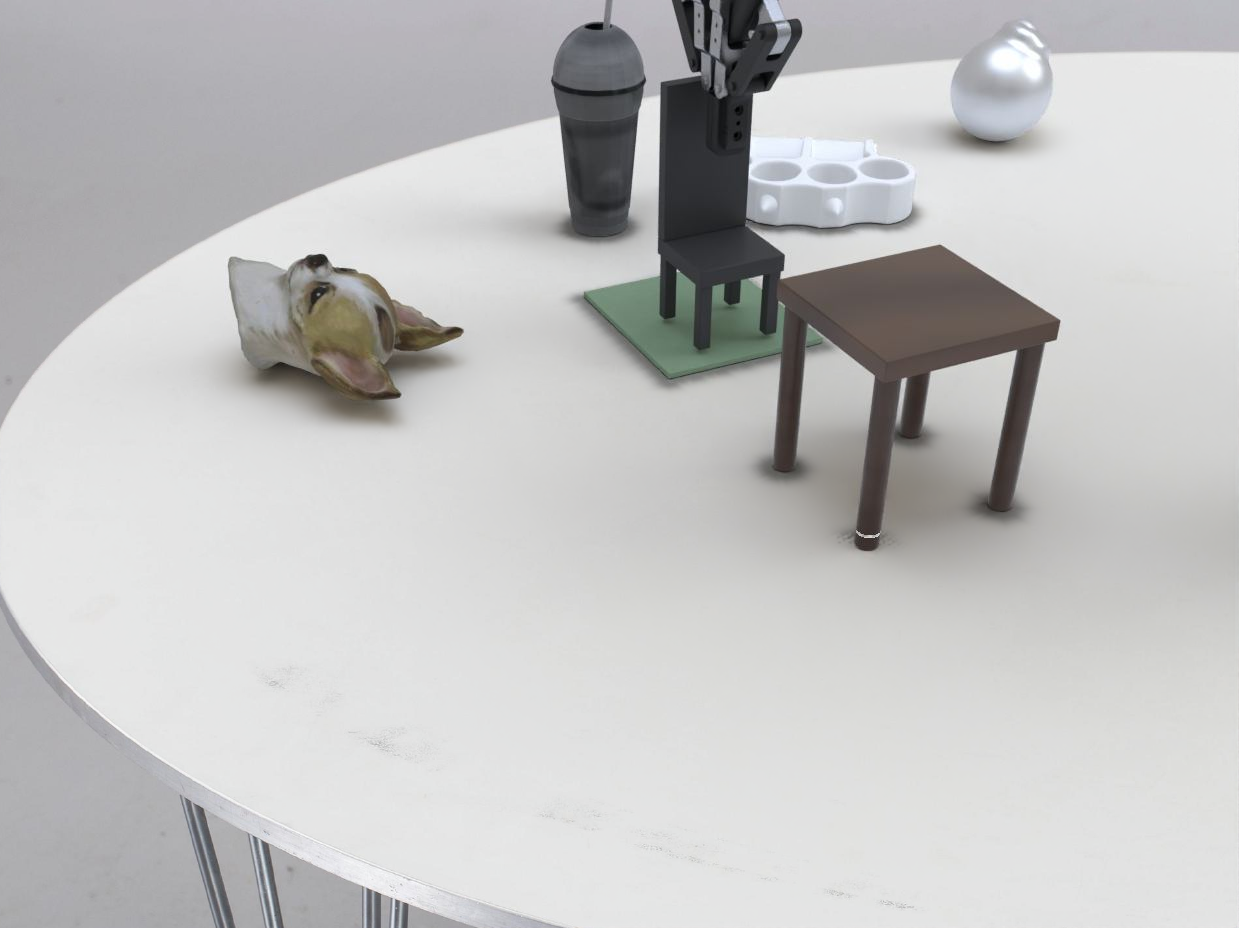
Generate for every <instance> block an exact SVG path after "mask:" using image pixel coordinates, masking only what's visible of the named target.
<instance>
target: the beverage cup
mask: <svg viewBox="0 0 1239 928" xmlns="http://www.w3.org/2000/svg"><path fill="white" fill-rule="evenodd" d="M613 1H614V0H605V3H604V5H605V6H604V14H603V21H592V22H588V23H584V24H582V25H580V26H578V27H576V28H574V29H573V30H572V31H571V32H570V33H569V34H568V35H567V36H566V37H565V39H564V40H563V41H562V43H561V44H560V46H559V48H558V49H557V51H556V52H557V53H556V55H555V58H554V62H553V67H552V76H551V79H550V83H551V85H552V87H553V94H554V99H555V104H556V107H557V112H558V115H559V125H560V135H561V144H562V152H563V163H564V171H565V172H564V173H565V181H566V189H567V200H568V207H569V211H570V217H571V227H572V230H574V231H575V232H577V233H578V234H581V235H584V236H589V237H609V236H614V235H617V234H620V233H623V232H624V231H625V230H626V229H627V227H628V218H629V212H630V208H631V201H632V200H631V198H632V187H633V179H634V177H633V176H634V168H635V167H634V166H635V157H636V155H635V154H636V145H637V135H638V125H639V124H638V123H639V112H640V109H641V107H642V101H643V96H644V91H645V84H647V83H646V82H647V77H646V74H645V66H644V62H643V61H644V60H643V58H642V55H641V52H640V49H639V48H638V46H637V45H636V43H635V41H634V40H633V38H632V37H631V35H630V34H629V33H628V32H626V31H625V30H624V29H622V28H620V27H619V26H617V25H615V24H613V23H611V19H612V10H613Z"/></svg>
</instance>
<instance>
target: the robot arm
mask: <svg viewBox="0 0 1239 928" xmlns="http://www.w3.org/2000/svg"><path fill="white" fill-rule="evenodd" d="M779 1H780V0H671V3H672V7H673V10H674V14H675V18H676V22H677V26H678V30H679V34H680V37H681V41H682V45H683V48H684V52H685V56H686V60H687V64H688V67H689V70H690V71H691V73H692V74H693V73H694V74H695V73H700V75H701V83H702V86H703V89H704V90H705V91H708V101H707V125H706V147H707V148H708V149H709V150H711V151H712V152H714V153H715V154H717V155H718V156H720V157H725V156H730V155H735V154H740V153H742V152H743V151H744V150H745V148H746V143H747V129H748V112H749V100H750V97H751V95H752V94H753V95H754V94H758V93H765V92H769V91H771V90H772V88H773V86H774V84H776V81H777V80H778V78H779V76H780V74H781V73H782V71H783V69H784V67H785V66H786V64H787V63H788V61H789V59H790V57H791V56H792V54H793V52H794V50H795V49H796V47H797V45H798V44H799V42H800V40H801V39H802V36H803V25H802V22H801V20H800V19H799V18H791V19H790V18H789V19H787V18H786V16H785V13H784V11H783V8H782V7H781V4H780V2H779Z"/></svg>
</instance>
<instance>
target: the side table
mask: <svg viewBox="0 0 1239 928" xmlns="http://www.w3.org/2000/svg"><path fill="white" fill-rule="evenodd" d="M777 299H778V300H779V302H780V303H781V304H782V305H784V308H785V313H784V325H783V338H782V351H781V352H780V354H781V355H780V364H779V365H780V367H779V378H778V391H777V403H776V414H775V415H776V416H775V429H774V440H773V441H774V443H773V452H772V453H773V456H772V468H774V470H776V471H779V472H783V473H784V472H785V473H786V472H791V471H793V470H795V469H796V467H797V466H796V465H797V456H798V455H797V454H798V444H799V443H798V442H799V433H800V421H801V409H802V398H803V387H804V376H805V365H806V355H807V346H806V345H807V334H808V327H809V326H810V327H812V328H813V329H814V330H815V331H817V332H818V333H819V334H821V335H822V336H823V337H824V338H826V339H827V340H829V342H831V344H833V345H835V346H836V347H837V348H839V349H840V350H841V351H842V352H843V353H845V354H846V355H848V356H849V357H850V358H851V359H853V360H854V361H855V362H856V363H858V364H859V365H860V366H862V368H864V369H865V370H867V371H868V372H869V373H870V374H871V375H873V377H874V378H873V379H874V380H873V386H872V387H873V388H872V396H871V404H870V410H869V419H868V428H867V435H866V436H867V437H866V445H865V452H864V459H863V466H862V467H863V468H862V476H861V484H860V491H859V499H858V507H857V515H856V523H855V531H854V539H853V543H854V545H855V547H857V548H858V549H860V550H863V551H873V550H875V549H878V547H880V540H881V533H882V527H883V526H882V525H883V519H884V512H885V504H886V498H887V490H888V482H889V476H890V470H891V469H890V467H891V461H892V454H893V446H894V441H895V440H894V439H895V432H896V424H897V418H898V411H899V403H900V396H901V390H902V383H903V382H902V381H903V380H904V379H905V380H906V381H905V387H904V394H903V401H902V408H901V415H900V421H899V423H900V424H899V427H898V428H899V429H898V432H899V434H900V435H901V436H903V437H905V438H908V439H915V438H918V437H921V435H922V434H923V433H922V432H923V427H924V420H925V413H926V406H927V400H928V394H929V387H930V381H931V374H932V372H934V371H938V370H943V369H947V368H950V367H951V368H952V367H955V366H959V365H962V364H967V363H970V362H975V361H978V360H983V359H987V358H991V357H995V356H1000V355H1002V354H1007V353H1010V352H1015V357H1014V358H1015V359H1014V363H1013V369H1012V373H1011V379H1010V384H1009V389H1008V394H1007V399H1006V405H1005V411H1004V415H1003V419H1002V420H1003V421H1002V424H1001V425H1002V426H1001V432H1000V437H999V441H998V446H997V451H996V457H995V463H994V468H993V473H992V478H991V483H990V489H989V494H988V499H987V505H988V507H989V508H990V509H992V510H994V511H998V512H1005V511H1009V510H1010V509H1012V508H1013V503H1014V500H1015V499H1014V498H1015V493H1016V489H1017V483H1018V479H1019V473H1020V470H1021V465H1022V460H1023V454H1024V450H1025V445H1026V440H1027V436H1028V430H1029V425H1030V420H1031V416H1032V411H1033V406H1034V401H1035V397H1036V391H1037V387H1038V381H1039V376H1040V373H1041V366H1042V362H1043V358H1044V352H1045V349H1046V348H1045V347H1046V343H1051V342H1055V341H1057V340H1058V335H1059V331H1060V327H1061V319H1059V318H1058V317H1056V316H1055V315H1053V314H1051V313H1050V312H1049V311H1047V310H1045V309H1044V308H1043V307H1041V306H1039V305H1038V304H1036V303H1034V302H1032V301H1031V300H1029V299H1028V298H1027V297H1025V296H1023V295H1021V294H1020V293H1018V292H1016V291H1015V290H1014V289H1012V288H1011V287H1009V286H1007V285H1006V284H1004V283H1002V282H1001V281H999V280H998V279H996V278H994V277H993V276H992V275H990V274H988V273H987V272H985V271H984V270H982V269H980V268H979V267H977V266H975V265H974V264H972V263H971V262H969V261H967V260H966V259H964V258H963V257H961V256H960V255H958V254H957V253H955V252H953V250H950V249H948V248H947V247H946V246H944V245H942V244H939V243H938V244H935V245H930V246H927V247H922V248H917V249H912V250H907V251H902V252H899V253H894V254H889V255H885V256H880V257H876V258H871V259H870V258H869V259H866V260H861V261H858V262H853V263H848V264H844V265H839V266H834V267H830V268H825V269H821V270H816V271H812V272H811V271H810V272H807V273H802V274H798V275H792V276H788V277H783V278H780V279H779V280H778V285H777ZM856 530H857V531H858V532H860V533H861V534H864V535H876V534H878V533H880V531H881V533H880V535H879V536H878V537H875V538H864V537H861V536H859V535H858V534H857V533H856Z"/></svg>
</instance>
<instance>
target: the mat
mask: <svg viewBox="0 0 1239 928" xmlns="http://www.w3.org/2000/svg"><path fill="white" fill-rule="evenodd" d="M583 297H584V299H586V300H587V301H588V302H589V303H590V304H591V305H592V306H593V307H594V308H595V309H596V310H597V311H598V312H599V313H600V314H601V315H602V316H603V317H604V318H605V319H606V320H608V321H609V322H610V323H611V325H613V326H614V327H615V328H616V330H618V331H619V332H620V333H621V334H622V335H623V336H624V338H626V339H627V340H628V341H629V342H630V343H631V344H632V345H633V346H634V347H636V349H638V351H639V352H641V353H642V355H644V356H645V357H646V358H647V359H648V360H649V361H650V362H651V363H652V364H653V365H654V366H655V367H656V368H657V369H658V370H659V371H660V372H661V373H662V374H664V375H665V376H666V378H667V379H669V380H671V379H674V378H679V377H681V376H682V377H683V376H687V375H691V374H695V373H700V372H703V371H707V370H713V369H717V368H720V367H721V368H722V367H724V366H729V365H733V364H737V363H742V362H746V361H750V360H754V359H760V358H763V357H767V356H771V355H776V354H781V351H782V338H783V325H784V313H785V306H783V305H781V304H780V303H779V302H778V316H777V329H776V333H773V334H769V335H765V334H763V333H762V332H761V331H760V330H759V327H760V312H761V297H762V288H760V287H759V286H757V285H756V284H755V283H754V282H752V281H751V280H750V279H749V278H748V279H744V280H741V291H740V303H737V304H733V305H728V304H727V303H726V302H725V301H724V284H721V285H716V286H713V291H712V314H711V337H710V348H707V349H703V350H698V349H697V348H696V347H695V346H694V345H693V340H694V311H695V284H694V283H693V282H692V281H691V280H689V279H688V278H687V277H686V276H685V275H683V274H682V273H681V272H680V271H677V280H676V317H674V318H669V319H664V318H663V317H661V316H660V314H659V308H660V275H658V276H654V277H649V278H645V279H639V280H634V281H629V282H625V283H620V284H615V285H611V286H606V287H601V288H595V289H591V290H588V291H584V292H583ZM822 343H823V337H822V336H821V335H820V334H819V333H817V332H816V331H815V330H813V329H812V328H811V327H810V326H808V334H807V345H806V347H810V346H814V345H818V344H822Z"/></svg>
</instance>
